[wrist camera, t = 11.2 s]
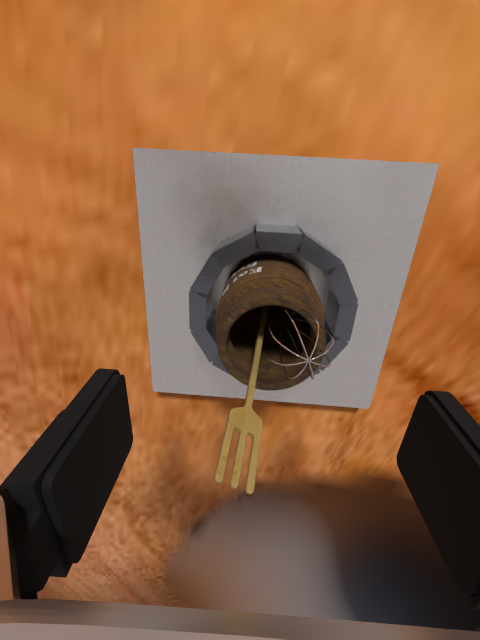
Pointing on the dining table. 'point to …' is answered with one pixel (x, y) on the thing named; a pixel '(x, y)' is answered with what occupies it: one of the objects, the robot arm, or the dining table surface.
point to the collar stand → (279, 239)
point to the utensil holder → (265, 343)
